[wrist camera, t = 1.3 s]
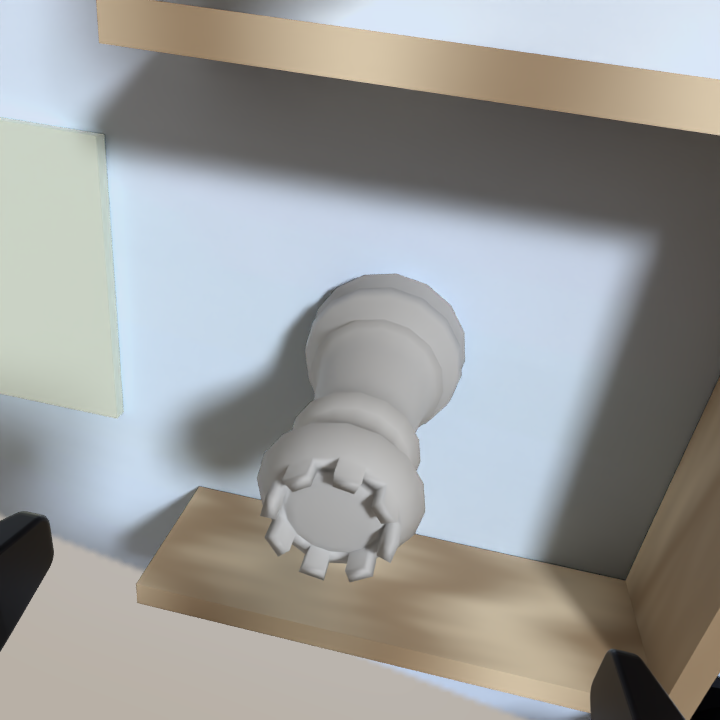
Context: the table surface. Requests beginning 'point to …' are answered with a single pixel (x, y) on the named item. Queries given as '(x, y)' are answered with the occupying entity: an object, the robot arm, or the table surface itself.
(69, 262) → the sage mat
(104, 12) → the open box
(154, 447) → the table surface
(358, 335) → the rook chess piece
